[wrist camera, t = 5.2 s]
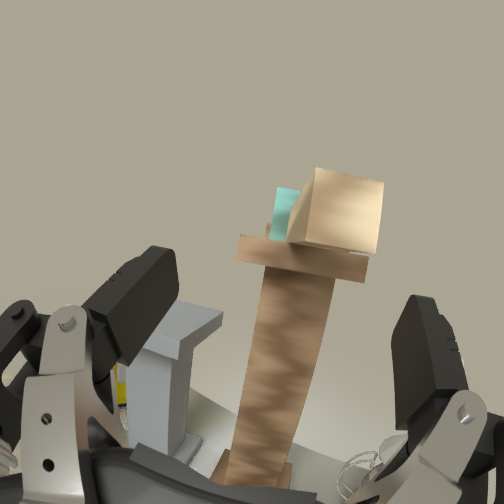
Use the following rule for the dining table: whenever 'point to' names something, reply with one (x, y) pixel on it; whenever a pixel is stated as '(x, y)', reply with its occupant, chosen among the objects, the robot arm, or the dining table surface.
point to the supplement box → (120, 383)
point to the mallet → (330, 213)
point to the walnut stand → (281, 354)
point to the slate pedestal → (167, 381)
